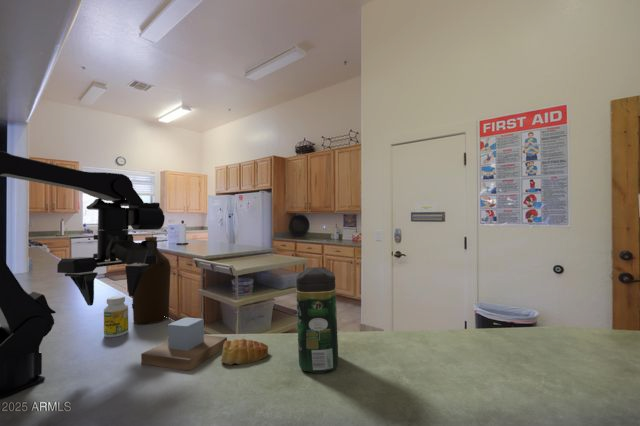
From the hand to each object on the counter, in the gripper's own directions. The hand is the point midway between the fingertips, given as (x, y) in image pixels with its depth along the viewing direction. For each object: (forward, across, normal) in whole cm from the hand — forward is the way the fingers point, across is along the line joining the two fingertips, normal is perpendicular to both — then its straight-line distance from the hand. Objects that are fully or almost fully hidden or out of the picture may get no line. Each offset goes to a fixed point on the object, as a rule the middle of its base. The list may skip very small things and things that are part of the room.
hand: (112, 300), depth 67 cm
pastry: (+12, +7, -29) cm, 32 cm away
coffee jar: (+12, +9, -45) cm, 48 cm away
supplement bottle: (+12, +10, +12) cm, 19 cm away
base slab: (+12, +5, -17) cm, 21 cm away
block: (+10, +5, -16) cm, 20 cm away
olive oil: (+12, +22, +14) cm, 28 cm away
